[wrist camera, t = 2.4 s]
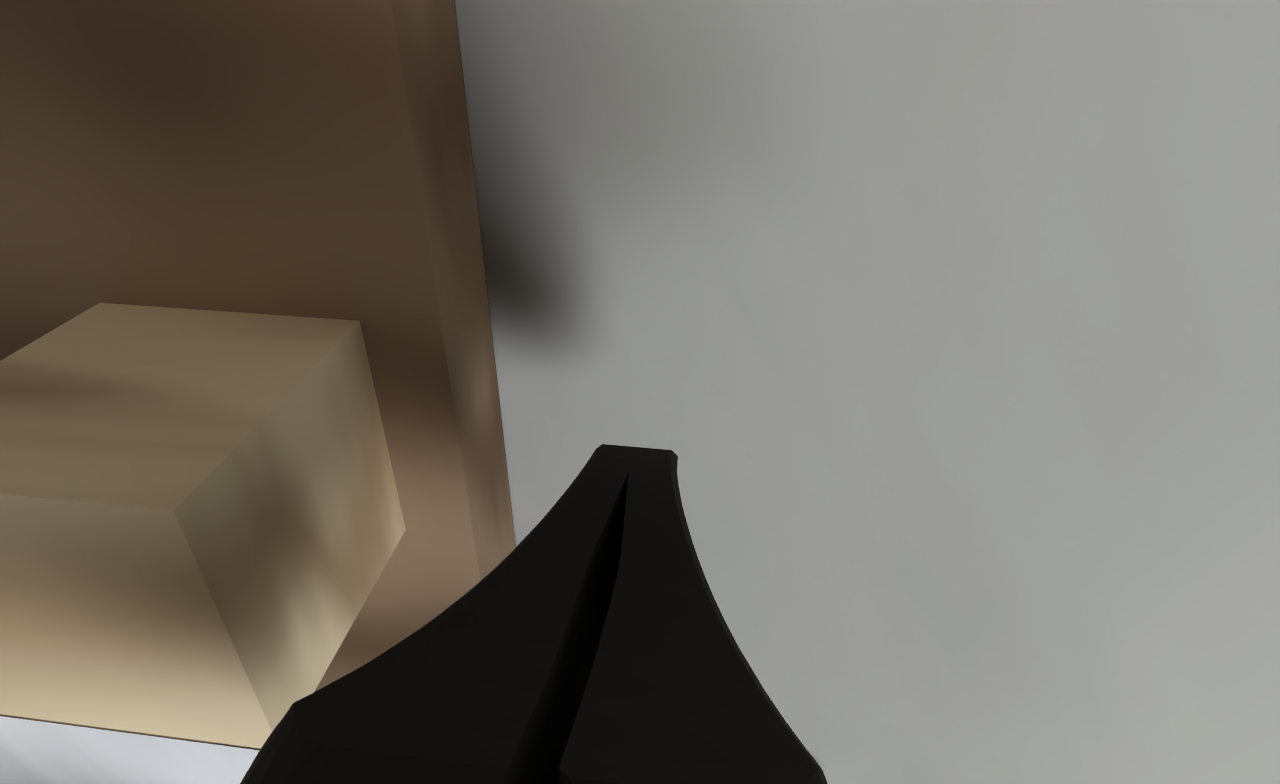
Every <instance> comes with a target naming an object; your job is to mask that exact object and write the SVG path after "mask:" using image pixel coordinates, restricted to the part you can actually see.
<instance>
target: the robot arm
mask: <svg viewBox="0 0 1280 784" xmlns="http://www.w3.org/2000/svg"><path fill="white" fill-rule="evenodd" d="M677 460H678V456H677V455H676V454H675V453H674V452H673V451H672V450H663V449H651V448H640V447H628V446H617V445H605V444H602V445H601V446H599V447H598V448H597V449H596V450H595V451H594V453H593V455H592V456H591V458H590V459H589V461H588V462H587V463H586V465H585V466H584V468H583V469H582V471H581V472H580V473H579V475H578V476H577V477H576V479H575V480H574V481H573V483H572V484H571V485H570V487H569V488H568V489H567V490H566V492H565V493H564V494H563V495H562V497H561V498H560V499H559V500H558V501H557V503H556V504H555V505H554V506H553V507H552V509H551V510H550V511H549V512H548V513H547V515H546V516H545V517H544V518H543V519H542V520H541V521H540V523H539V524H538V525H537V526H536V527H535V528H534V529H533V530H532V531H531V532H530V533H529V534H528V535H527V536H526V537H525V539H524V540H523V541H522V542H521V543H520V544H519V545H518V546H517V547H516V548H515V549H514V550H513V551H512V552H511V553H510V554H509V555H508V556H507V557H506V558H505V559H504V560H503V561H502V562H501V563H500V564H499V565H498V566H497V567H495V568H494V569H493V570H492V571H491V572H490V573H489V574H488V575H487V576H486V577H484V578H483V579H482V580H481V581H480V582H479V583H478V584H476V585H475V586H474V587H473V588H472V589H471V590H469V591H468V592H467V593H466V594H464V595H463V596H462V597H461V598H459V599H458V600H457V601H456V602H454V603H453V604H452V605H451V606H449V607H448V608H447V609H446V610H444V611H443V612H442V613H441V614H439V615H438V616H436V617H435V618H434V619H432V620H431V621H430V622H428V623H427V624H426V625H424V626H423V627H421V628H420V629H419V630H417V631H416V632H414V633H412V634H411V635H409V636H408V637H406V638H405V639H403V640H402V641H400V642H399V643H397V644H396V645H394V646H393V647H391V648H390V649H388V650H387V651H385V652H384V653H382V654H381V655H379V656H378V657H376V658H374V659H373V660H371V661H370V662H368V663H366V664H365V665H363V666H361V667H359V668H358V669H356V670H354V671H352V672H350V673H349V674H347V675H345V676H343V677H341V678H339V679H338V680H336V681H334V682H332V683H330V684H328V685H326V686H325V687H323V688H321V689H319V690H317V691H315V692H314V693H312V694H310V695H308V696H306V697H304V698H302V699H300V700H298V701H296V702H294V703H293V704H292V705H291V707H290V708H289V710H288V711H287V713H286V714H285V716H284V717H283V718H282V720H281V721H280V722H279V723H278V725H277V726H276V727H275V729H274V730H273V731H272V733H271V734H270V736H269V737H268V739H267V740H266V742H265V743H264V745H263V746H262V748H261V749H260V751H259V753H258V754H257V756H256V758H255V760H254V761H253V763H252V765H251V766H250V768H249V770H248V771H247V773H246V775H245V776H244V778H243V780H242V782H241V783H240V784H827V781H826V778H825V776H824V773H823V770H822V769H821V767H820V766H819V765H818V763H817V762H816V761H815V760H814V758H813V757H812V756H811V755H810V753H809V752H808V751H807V749H806V748H805V747H804V746H803V744H802V743H801V742H800V740H799V739H798V737H797V736H796V735H795V733H794V732H793V731H792V729H791V728H790V727H789V725H788V724H787V723H786V721H785V720H784V718H783V717H782V715H781V714H780V712H779V711H778V709H777V708H776V707H775V705H774V704H773V702H772V701H771V699H770V698H769V696H768V695H767V693H766V692H765V690H764V689H763V687H762V685H761V684H760V682H759V680H758V679H757V677H756V675H755V674H754V672H753V670H752V669H751V667H750V665H749V664H748V662H747V660H746V659H745V657H744V655H743V654H742V652H741V650H740V649H739V647H738V645H737V643H736V642H735V640H734V638H733V636H732V634H731V632H730V630H729V628H728V626H727V624H726V622H725V620H724V618H723V616H722V614H721V612H720V610H719V608H718V606H717V603H716V601H715V599H714V597H713V595H712V592H711V590H710V588H709V585H708V583H707V581H706V578H705V576H704V573H703V570H702V568H701V565H700V562H699V560H698V557H697V554H696V551H695V548H694V545H693V542H692V539H691V536H690V532H689V529H688V525H687V522H686V518H685V515H684V511H683V507H682V502H681V497H680V492H679V486H678V478H677Z"/></svg>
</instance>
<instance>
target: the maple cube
mask: <svg viewBox="0 0 1280 784" xmlns="http://www.w3.org/2000/svg"><path fill="white" fill-rule="evenodd" d="M405 530H406V528H405V524H404V519H403V515H402V510H401V506H400V501H399V497H398V492H397V488H396V483H395V479H394V474H393V470H392V465H391V461H390V456H389V451H388V447H387V442H386V438H385V433H384V429H383V424H382V420H381V415H380V411H379V406H378V402H377V397H376V393H375V388H374V384H373V379H372V374H371V370H370V365H369V361H368V356H367V352H366V347H365V343H364V338H363V334H362V329H361V325H360V321H355V320H341V319H326V318H312V317H298V316H283V315H269V314H254V313H240V312H226V311H211V310H197V309H183V308H168V307H154V306H140V305H125V304H111V303H98V304H97V305H95V306H93V307H91V308H90V309H88V310H86V311H85V312H83V313H81V314H79V315H78V316H76V317H74V318H73V319H71V320H69V321H68V322H66V323H64V324H62V325H61V326H59V327H57V328H56V329H54V330H52V331H50V332H49V333H47V334H45V335H44V336H42V337H40V338H39V339H37V340H35V341H33V342H32V343H30V344H28V345H27V346H25V347H23V348H21V349H20V350H18V351H16V352H15V353H13V354H11V355H9V356H8V357H6V358H4V359H3V360H1V361H0V714H3V715H10V716H18V717H25V718H33V719H41V720H48V721H56V722H63V723H71V724H78V725H86V726H93V727H101V728H109V729H116V730H124V731H131V732H139V733H146V734H154V735H162V736H169V737H177V738H184V739H192V740H199V741H207V742H214V743H222V744H230V745H237V746H245V747H252V748H260V749H261V748H262V746H263V745H264V743H265V742H266V740H267V739H268V737H269V736H270V734H271V733H272V731H273V730H274V729H275V727H276V726H277V725H278V723H279V722H280V721H281V720H282V718H283V717H284V716H285V714H286V713H287V711H288V710H289V708H290V707H291V705H292V704H293V703H294V702H296V701H298V700H300V699H302V698H304V697H306V696H308V695H310V694H312V693H314V691H315V690H316V688H317V686H318V684H319V683H320V681H321V679H322V677H323V676H324V674H325V672H326V670H327V668H328V667H329V665H330V663H331V661H332V660H333V658H334V656H335V654H336V653H337V651H338V649H339V647H340V645H341V644H342V642H343V640H344V638H345V637H346V635H347V633H348V631H349V629H350V628H351V626H352V624H353V622H354V621H355V619H356V617H357V615H358V614H359V612H360V610H361V608H362V606H363V605H364V603H365V601H366V599H367V598H368V596H369V594H370V592H371V591H372V589H373V587H374V585H375V583H376V582H377V580H378V578H379V576H380V575H381V573H382V571H383V569H384V568H385V566H386V564H387V562H388V560H389V559H390V557H391V555H392V553H393V552H394V550H395V548H396V546H397V545H398V543H399V541H400V539H401V537H402V536H403V534H404V532H405Z"/></svg>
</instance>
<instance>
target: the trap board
mask: <svg viewBox="0 0 1280 784" xmlns="http://www.w3.org/2000/svg"><path fill="white" fill-rule="evenodd" d="M98 303H111V304H125V305H140V306H154V307H168V308H183V309H197V310H211V311H226V312H240V313H254V314H269V315H283V316H298V317H312V318H326V319H341V320H355V321H360V325H361V329H362V334H363V338H364V343H365V347H366V352H367V356H368V361H369V365H370V370H371V374H372V379H373V384H374V388H375V393H376V397H377V402H378V406H379V411H380V415H381V420H382V424H383V429H384V433H385V438H386V442H387V447H388V451H389V456H390V461H391V465H392V470H393V474H394V479H395V483H396V488H397V492H398V497H399V501H400V506H401V510H402V515H403V519H404V524H405V528H406V530H405V532H404V534H403V536H402V537H401V539H400V541H399V543H398V545H397V546H396V548H395V550H394V552H393V553H392V555H391V557H390V559H389V560H388V562H387V564H386V566H385V568H384V569H383V571H382V573H381V575H380V576H379V578H378V580H377V582H376V583H375V585H374V587H373V589H372V591H371V592H370V594H369V596H368V598H367V599H366V601H365V603H364V605H363V606H362V608H361V610H360V612H359V614H358V615H357V617H356V619H355V621H354V622H353V624H352V626H351V628H350V629H349V631H348V633H347V635H346V637H345V638H344V640H343V642H342V644H341V645H340V647H339V649H338V651H337V653H336V654H335V656H334V658H333V660H332V661H331V663H330V665H329V667H328V668H327V670H326V672H325V674H324V676H323V677H322V679H321V681H320V683H319V684H318V686H317V688H316V690H315V691H317V690H319V689H321V688H323V687H325V686H326V685H328V684H330V683H332V682H334V681H336V680H338V679H339V678H341V677H343V676H345V675H347V674H349V673H350V672H352V671H354V670H356V669H358V668H359V667H361V666H363V665H365V664H366V663H368V662H370V661H371V660H373V659H374V658H376V657H378V656H379V655H381V654H382V653H384V652H385V651H387V650H388V649H390V648H391V647H393V646H394V645H396V644H397V643H399V642H400V641H402V640H403V639H405V638H406V637H408V636H409V635H411V634H412V633H414V632H416V631H417V630H419V629H420V628H421V627H423V626H424V625H426V624H427V623H428V622H430V621H431V620H432V619H434V618H435V617H436V616H438V615H439V614H441V613H442V612H443V611H444V610H446V609H447V608H448V607H449V606H451V605H452V604H453V603H454V602H456V601H457V600H458V599H459V598H461V597H462V596H463V595H464V594H466V593H467V592H468V591H469V590H471V589H472V588H473V587H474V586H475V585H476V584H478V583H479V582H480V581H481V580H482V579H483V578H484V577H486V576H487V575H488V574H489V573H490V572H491V571H492V570H493V569H494V568H495V567H497V566H498V565H499V564H500V563H501V562H502V561H503V560H504V559H505V558H506V557H507V556H508V555H509V554H510V553H511V552H512V551H513V550H514V549H515V548H516V543H515V534H514V525H513V516H512V508H511V499H510V490H509V481H508V472H507V463H506V454H505V445H504V436H503V427H502V419H501V410H500V401H499V392H498V383H497V374H496V365H495V356H494V347H493V338H492V329H491V321H490V312H489V303H488V294H487V285H486V276H485V267H484V258H483V249H482V240H481V231H480V223H479V214H478V205H477V196H476V187H475V178H474V169H473V160H472V151H471V142H470V134H469V125H468V116H467V107H466V98H465V89H464V80H463V71H462V62H461V53H460V44H459V36H458V27H457V18H456V9H455V0H0V361H1V360H3V359H4V358H6V357H8V356H9V355H11V354H13V353H15V352H16V351H18V350H20V349H21V348H23V347H25V346H27V345H28V344H30V343H32V342H33V341H35V340H37V339H39V338H40V337H42V336H44V335H45V334H47V333H49V332H50V331H52V330H54V329H56V328H57V327H59V326H61V325H62V324H64V323H66V322H68V321H69V320H71V319H73V318H74V317H76V316H78V315H79V314H81V313H83V312H85V311H86V310H88V309H90V308H91V307H93V306H95V305H97V304H98ZM315 691H314V692H315ZM0 716H5V717H12V718H20V719H28V720H35V721H43V722H50V723H58V724H65V725H73V726H80V727H88V728H95V729H103V730H111V731H118V732H126V733H133V734H141V735H148V736H156V737H163V738H171V739H179V740H186V741H194V742H201V743H209V744H216V745H224V746H231V747H239V748H246V749H254V750H260V748H252V747H245V746H237V745H230V744H222V743H214V742H207V741H199V740H192V739H184V738H177V737H169V736H162V735H154V734H146V733H139V732H131V731H124V730H116V729H109V728H101V727H93V726H86V725H78V724H71V723H63V722H56V721H48V720H41V719H33V718H25V717H18V716H10V715H3V714H0Z"/></svg>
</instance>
